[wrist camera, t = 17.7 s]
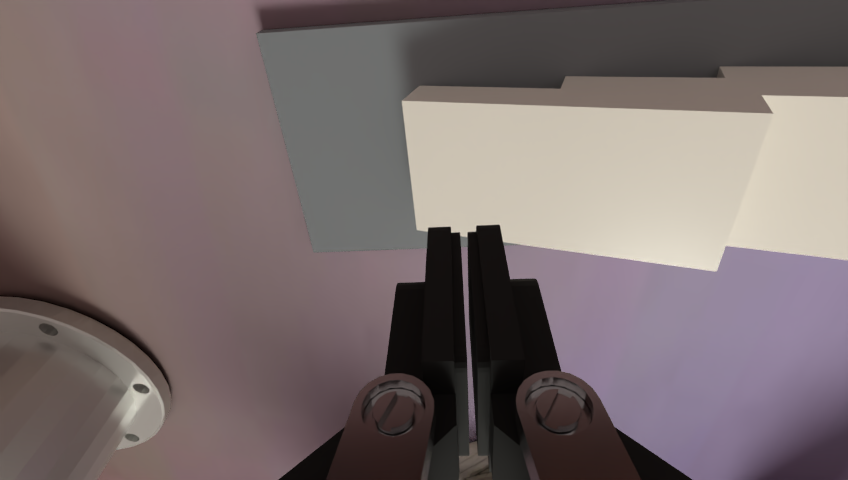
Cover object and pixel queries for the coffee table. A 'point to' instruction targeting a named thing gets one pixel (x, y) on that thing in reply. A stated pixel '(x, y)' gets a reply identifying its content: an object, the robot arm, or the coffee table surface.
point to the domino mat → (492, 84)
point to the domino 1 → (586, 167)
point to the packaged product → (474, 465)
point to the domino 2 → (780, 160)
